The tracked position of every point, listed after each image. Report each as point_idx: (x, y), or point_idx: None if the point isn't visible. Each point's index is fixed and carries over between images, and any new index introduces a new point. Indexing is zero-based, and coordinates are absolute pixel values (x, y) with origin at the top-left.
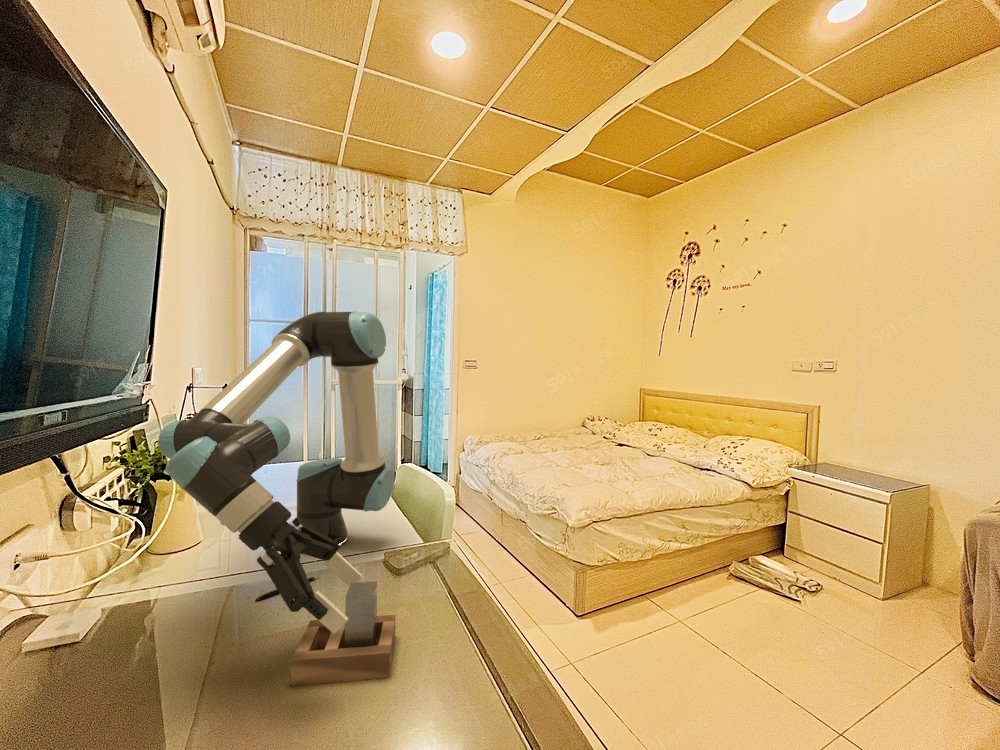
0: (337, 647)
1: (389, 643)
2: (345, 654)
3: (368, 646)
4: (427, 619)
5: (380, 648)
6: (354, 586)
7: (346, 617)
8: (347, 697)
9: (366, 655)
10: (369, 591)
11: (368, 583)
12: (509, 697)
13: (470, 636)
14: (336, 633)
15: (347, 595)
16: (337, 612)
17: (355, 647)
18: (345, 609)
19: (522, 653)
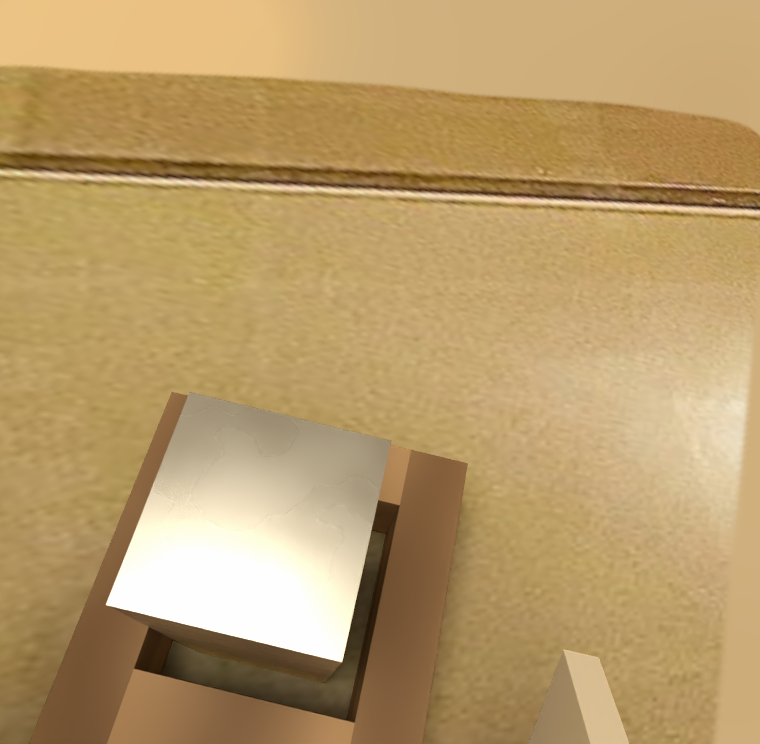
0: (343, 722)
1: (400, 454)
2: (418, 676)
3: (392, 552)
4: (136, 289)
5: (425, 498)
6: (191, 576)
7: (577, 662)
8: (510, 672)
9: (449, 568)
10: (327, 464)
11: (192, 459)
12: (623, 191)
13: (321, 188)
14: (202, 729)
15: (328, 644)
16: (623, 740)
17: (377, 619)
18: (335, 667)
19: (461, 98)
